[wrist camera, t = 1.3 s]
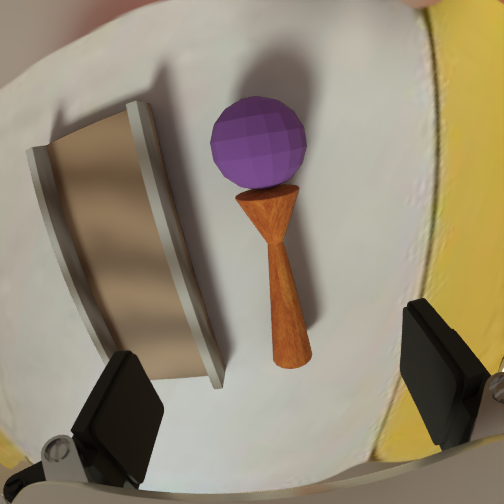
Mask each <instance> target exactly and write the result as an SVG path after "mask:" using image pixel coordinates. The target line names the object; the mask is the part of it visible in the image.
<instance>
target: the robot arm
mask: <svg viewBox="0 0 504 504" xmlns="http://www.w3.org/2000/svg"><path fill="white" fill-rule="evenodd" d="M400 372H401V375H402V378H403V380H404V382H405V384H406V386H407V388H408V390H409V392H410V394H411V396H412V398H413V400H414V402H415V404H416V406H417V408H418V410H419V413H420V415H421V417H422V419H423V421H424V423H425V425H426V428H427V430H428V432H429V434H430V437H431V439H432V441H433V443H434V444H435V445H440V448H441V450H442V452H439V453H436V454H434V455H431V456H428V457H425V458H422V459H419V460H416V461H414V462H410V463H407V464H404V465H400V466H397V467H393V468H390V469H387V470H383V471H379V472H376V473H372V474H368V475H364V476H360V477H356V478H351V479H347V480H342V481H337V482H332V483H326V484H320V485H314V486H308V487H301V488H294V489H286V490H277V491H266V492H253V493H232V494H190V493H170V492H157V491H146V490H138V488H139V485H140V484H141V483H143V481H144V479H145V475H146V472H147V468H148V465H149V461H150V458H151V454H152V451H153V447H154V444H155V441H156V437H157V434H158V431H159V427H160V424H161V421H162V417H163V414H164V406H163V403H162V402H161V400H160V398H159V396H158V394H157V393H156V391H155V389H154V387H153V385H152V383H151V382H150V380H149V378H148V376H147V374H146V372H145V370H144V368H143V366H142V364H141V362H140V360H139V358H138V356H137V355H136V354H133V353H132V352H131V351H130V350H125V351H116V352H114V354H113V355H112V357H111V359H110V360H109V362H108V364H107V365H106V367H105V369H104V371H103V372H102V374H101V376H100V378H99V379H98V381H97V383H96V385H95V386H94V388H93V390H92V392H91V394H90V395H89V397H88V399H87V401H86V403H85V404H84V406H83V408H82V410H81V412H80V414H79V415H78V417H77V419H76V421H75V423H74V425H73V427H72V429H71V430H70V431H71V432H72V433H73V434H74V435H73V437H72V438H71V437H69V436H67V435H58V436H55V437H53V438H51V439H49V440H48V441H47V442H46V443H45V445H44V446H43V448H42V451H41V459H42V461H40V462H38V463H36V464H34V465H32V466H30V467H28V468H26V469H24V470H22V471H20V472H18V473H16V474H14V475H12V476H11V477H10V478H9V479H8V480H7V481H6V483H5V485H4V489H3V493H4V495H2V494H1V493H0V504H504V359H503V361H502V363H501V366H500V369H499V372H498V373H495V374H494V375H492V376H491V375H490V374H489V372H488V371H487V370H486V368H485V367H484V366H483V364H482V363H481V362H480V361H479V359H478V358H477V357H476V355H475V354H474V353H473V352H472V350H471V349H470V348H469V347H468V345H467V344H466V343H465V342H464V341H463V339H462V338H461V337H460V336H459V334H458V333H457V332H456V331H455V330H454V329H451V328H450V327H449V326H448V325H447V323H446V322H445V321H444V320H443V319H442V318H441V316H440V315H439V314H438V313H437V312H436V311H435V309H434V308H433V307H432V306H431V305H430V304H429V302H428V301H427V300H426V299H425V298H421V299H417V300H413V301H410V302H408V304H407V307H404V308H403V323H402V343H401V357H400Z"/></svg>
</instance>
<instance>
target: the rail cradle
mask: <svg viewBox="0 0 504 504" xmlns="http://www.w3.org/2000/svg"><path fill="white" fill-rule="evenodd" d="M126 108H127V110H126V111H123V112H120V113H118V114H115V115H113V116H110V117H108V118H105V119H103V120H100V121H98V122H95V123H93V124H91V125H89V126H86V127H84V128H82V129H79V130H77V131H75V132H73V133H71V134H69V135H66V136H64V137H62V138H60V139H58V140H56V141H54V142H52V143H50V144H48V145H46V146H38V147H32V148H30V149H28V150H26V154H27V159H28V163H29V168H30V172H31V176H32V180H33V184H34V188H35V192H36V196H37V199H38V203H39V206H40V210H41V213H42V217H43V220H44V223H45V226H46V229H47V232H48V235H49V238H50V241H51V244H52V247H53V250H54V253H55V256H56V258H57V261H58V264H59V266H60V269H61V271H62V274H63V277H64V279H65V282H66V284H67V286H68V289H69V291H70V294H71V296H72V298H73V301H74V303H75V305H76V307H77V310H78V312H79V314H80V316H81V318H82V320H83V323H84V325H85V327H86V329H87V331H88V333H89V335H90V337H91V339H92V341H93V343H94V345H95V347H96V349H97V351H98V353H99V355H100V356H101V358H102V360H103V362H104V364H105V366H106V365H107V364H108V362H109V360H110V359H111V357H112V355H113V354H114V352H116V351H125V350H130V351H131V352H132V353H133V354H136V355H137V356H138V358H139V360H140V362H141V364H142V366H143V368H144V370H145V372H146V374H147V376H148V378H149V380H157V379H173V378H187V377H199V376H209V378H210V381H211V383H212V386H213V388H214V389H221V388H223V383H224V376H225V370H226V369H225V366H224V363H223V360H222V357H221V354H220V351H219V348H218V345H217V342H216V339H215V336H214V333H213V330H212V327H211V324H210V321H209V318H208V315H207V312H206V309H205V306H204V303H203V299H202V296H201V293H200V290H199V287H198V284H197V280H196V277H195V274H194V271H193V267H192V264H191V261H190V257H189V254H188V250H187V247H186V244H185V240H184V237H183V233H182V230H181V226H180V222H179V219H178V215H177V212H176V208H175V204H174V200H173V197H172V193H171V189H170V185H169V181H168V178H167V174H166V170H165V166H164V162H163V158H162V154H161V149H160V145H159V141H158V137H157V133H156V128H155V124H154V119H153V115H152V110H151V106H150V104H148V103H145V102H141V101H137V100H136V101H133V102H130V103H128V104H126Z"/></svg>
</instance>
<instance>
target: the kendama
mask: <svg viewBox="0 0 504 504" xmlns="http://www.w3.org/2000/svg"><path fill="white" fill-rule="evenodd" d="M210 145H211V150H212V155H213V160H214V162H215V164H216V165H217V167H218V168H219V170H220V171H221V172H222V174H223V175H224V177H226V178H227V179H229V180H230V181H232V182H234V183H235V184H237V185H238V186H240V187H243V188H249V189H251V190H248V191H245V192H242V193H240V194H238V195H237V196H236V198H235V199H236V201H237V202H238V203H239V205H240V206H241V207H242V209H243V210H244V211H245V213H246V214H247V216H248V217H249V218H250V220H251V221H252V222H253V224H254V225H255V227H256V228H257V229H258V231H259V232H260V233H261V235H262V236H263V238H264V239H265V240H266V242H267V243H268V260H269V279H270V300H271V321H272V344H273V361H274V362H275V363H276V365H278V366H280V367H282V368H286V369H294V368H299V367H301V366H303V365H305V364H307V363H308V362H309V361H310V360H311V357H312V351H311V347H310V343H309V339H308V335H307V331H306V327H305V323H304V319H303V315H302V311H301V307H300V303H299V299H298V295H297V291H296V287H295V283H294V280H293V276H292V272H291V268H290V264H289V261H288V257H287V253H286V249H285V246H284V242H283V240H284V237H285V233H286V230H287V227H288V224H289V221H290V217H291V214H292V211H293V208H294V204H295V201H296V198H297V194H298V191H299V187H298V186H296V185H290V184H282V183H284V182H285V181H287V180H289V179H290V178H291V177H292V176H293V175H294V173H295V172H296V171H297V170H298V168H299V167H300V166H301V164H302V162H303V159H304V155H305V151H306V147H307V144H306V137H305V131H304V127H303V125H302V123H301V122H300V120H299V119H298V117H297V116H296V114H295V112H294V111H293V110H291V109H290V108H288V107H287V106H286V105H284V104H283V103H281V102H280V101H278V100H274V99H270V98H265V97H260V96H254V97H248V98H244V99H241V100H239V101H237V102H236V103H234V104H233V105H231V106H229V107H228V108H226V109H225V110H224V111H223V113H222V114H221V115H220V117H219V118H218V120H217V121H216V122H215V124H214V127H213V131H212V136H211V141H210ZM280 184H281V185H280Z"/></svg>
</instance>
